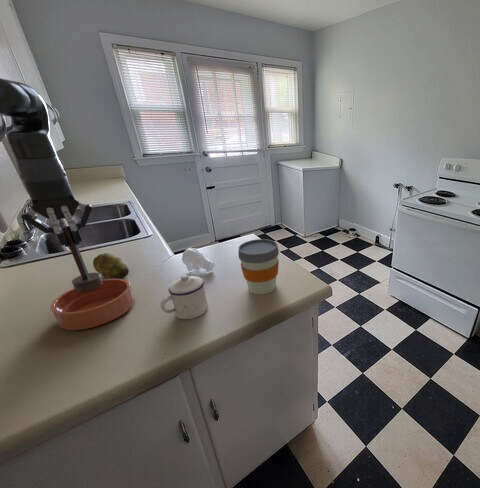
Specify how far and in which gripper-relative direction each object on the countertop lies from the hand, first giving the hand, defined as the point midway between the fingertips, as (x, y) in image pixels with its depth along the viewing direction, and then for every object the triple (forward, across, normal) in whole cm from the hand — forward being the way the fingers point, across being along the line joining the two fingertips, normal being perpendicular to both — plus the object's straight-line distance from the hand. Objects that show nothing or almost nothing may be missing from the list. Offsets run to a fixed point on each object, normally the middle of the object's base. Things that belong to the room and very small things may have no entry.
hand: (72, 244), depth 70 cm
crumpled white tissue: (+22, -31, -6) cm, 38 cm away
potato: (+22, -6, -23) cm, 32 cm away
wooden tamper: (+13, 0, 0) cm, 13 cm away
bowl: (+21, 0, 0) cm, 21 cm away
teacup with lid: (+22, -19, +18) cm, 34 cm away
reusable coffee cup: (+22, -42, +20) cm, 52 cm away
